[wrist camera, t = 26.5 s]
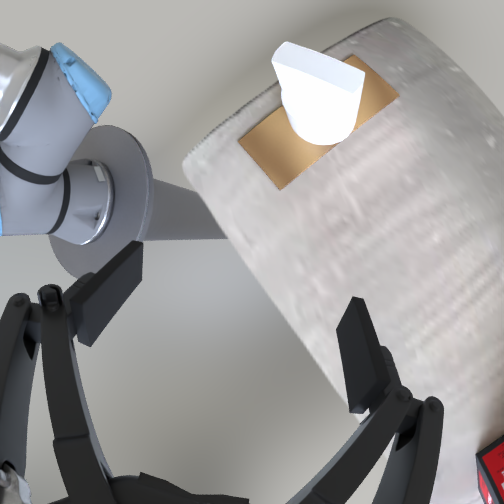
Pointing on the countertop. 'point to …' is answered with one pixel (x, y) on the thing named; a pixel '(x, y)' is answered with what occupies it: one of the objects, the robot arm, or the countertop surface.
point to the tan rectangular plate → (296, 148)
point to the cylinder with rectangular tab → (318, 93)
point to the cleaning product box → (491, 472)
